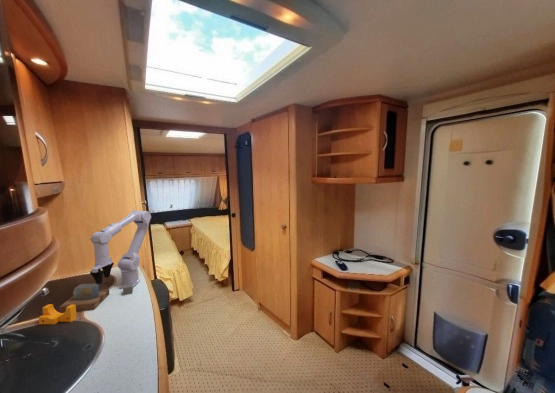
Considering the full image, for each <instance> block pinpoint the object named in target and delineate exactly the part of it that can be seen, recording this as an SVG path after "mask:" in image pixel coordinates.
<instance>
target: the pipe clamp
mask: <svg viewBox="0 0 555 393" xmlns="http://www.w3.org/2000/svg"><path fill="white" fill-rule="evenodd" d="M76 319H77V312H76V305H70V306H68V307H67V308H66V311H65V313H59V311H57V310H56V309H55V308H54V304H52V303H51V304H49V303H48V304H46V305H45V306H43V307H42V315H40V316H39V317H38V324H39V325H56V324H58V323H59V322H61V323H64V322H69V323H72V322H73V321H74V320H76Z"/></svg>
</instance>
